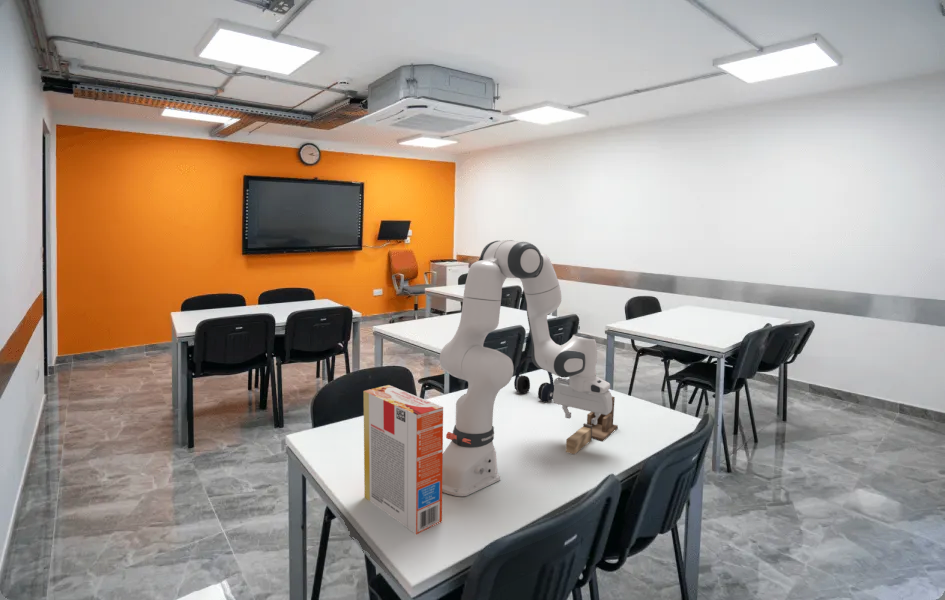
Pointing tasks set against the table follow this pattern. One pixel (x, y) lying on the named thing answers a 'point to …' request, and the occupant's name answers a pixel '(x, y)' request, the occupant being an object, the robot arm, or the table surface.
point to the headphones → (524, 384)
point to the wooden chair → (602, 424)
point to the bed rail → (579, 439)
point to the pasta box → (403, 456)
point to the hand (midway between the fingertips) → (580, 420)
